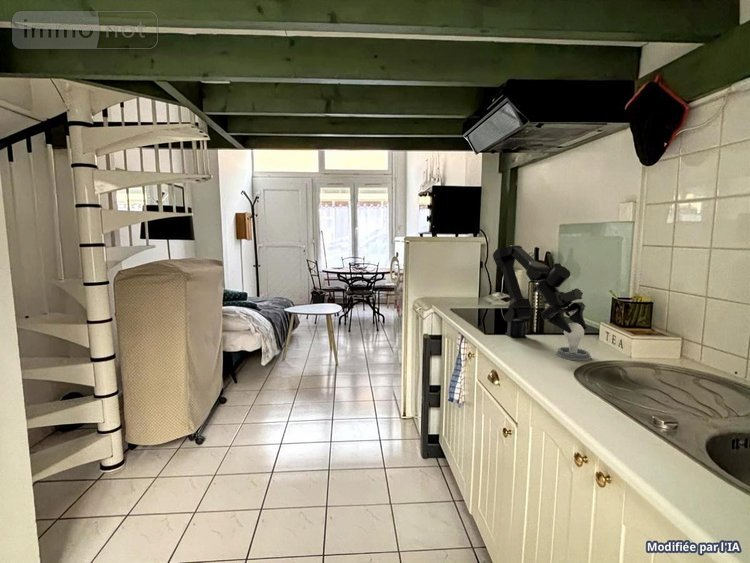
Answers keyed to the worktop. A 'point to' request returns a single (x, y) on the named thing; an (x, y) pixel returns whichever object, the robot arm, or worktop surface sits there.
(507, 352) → the worktop surface
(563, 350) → the bulb dish
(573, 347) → the lightbulb
